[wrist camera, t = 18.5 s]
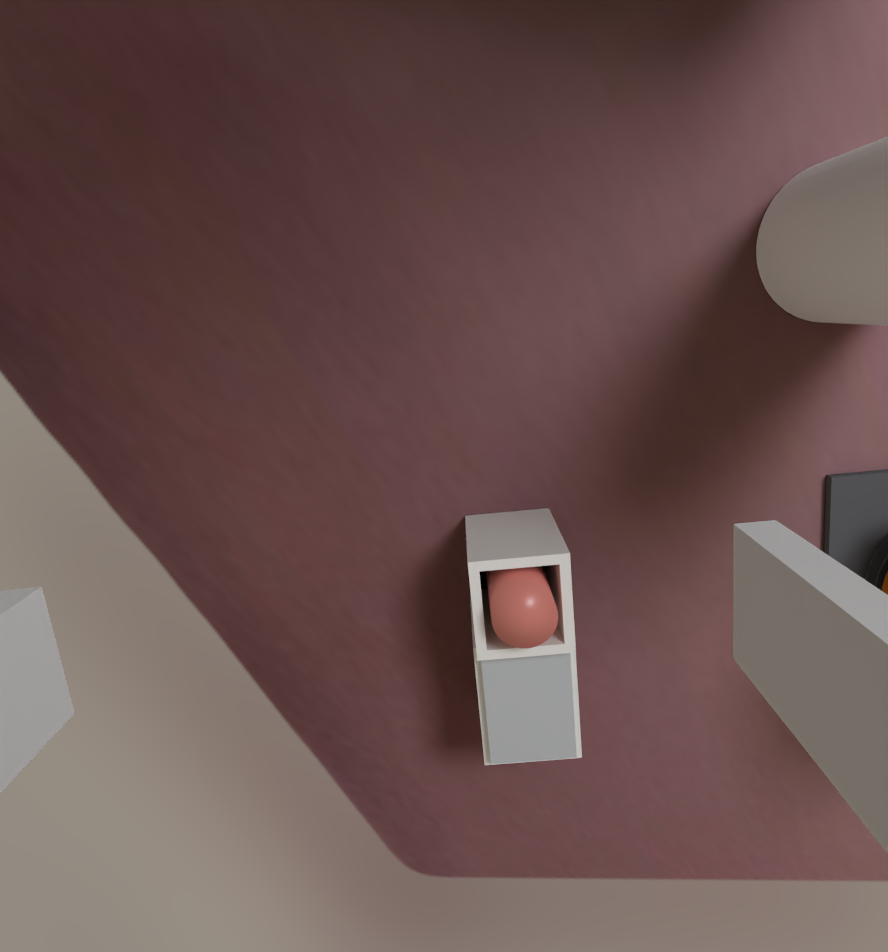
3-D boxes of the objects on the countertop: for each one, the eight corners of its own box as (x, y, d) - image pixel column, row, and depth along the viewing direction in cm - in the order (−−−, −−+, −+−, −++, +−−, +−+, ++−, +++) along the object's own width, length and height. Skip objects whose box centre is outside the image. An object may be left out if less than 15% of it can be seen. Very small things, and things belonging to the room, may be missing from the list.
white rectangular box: (462, 516, 46) (463, 562, 37) (551, 507, 45) (573, 552, 37) (480, 701, 49) (485, 781, 41) (563, 694, 49) (586, 773, 40)
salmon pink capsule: (482, 540, 44) (488, 590, 36) (538, 534, 44) (556, 584, 36) (487, 591, 45) (494, 651, 37) (541, 586, 45) (560, 645, 37)
